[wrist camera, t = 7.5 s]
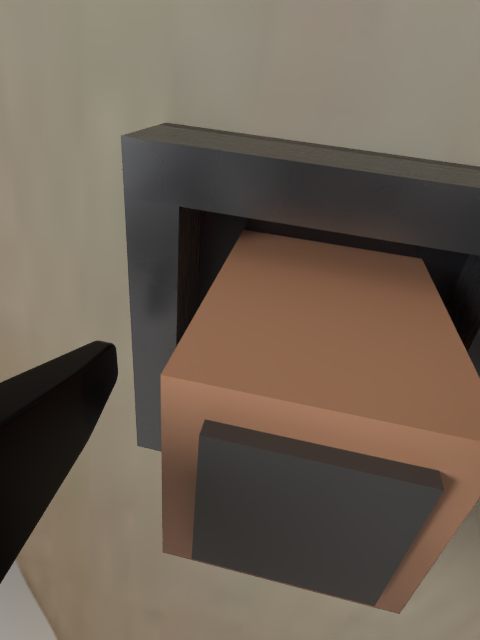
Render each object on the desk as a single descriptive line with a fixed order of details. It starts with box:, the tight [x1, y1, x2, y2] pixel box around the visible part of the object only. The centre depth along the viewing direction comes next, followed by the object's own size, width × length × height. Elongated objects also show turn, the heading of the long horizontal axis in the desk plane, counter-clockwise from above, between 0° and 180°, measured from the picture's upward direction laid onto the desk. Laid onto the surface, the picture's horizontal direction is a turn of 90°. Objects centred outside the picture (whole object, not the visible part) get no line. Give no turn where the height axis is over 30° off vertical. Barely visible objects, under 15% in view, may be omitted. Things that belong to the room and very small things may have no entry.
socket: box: [121, 123, 480, 451], centre depth 11 cm, size 9×9×2 cm
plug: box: [161, 230, 480, 614], centre depth 9 cm, size 4×4×6 cm
